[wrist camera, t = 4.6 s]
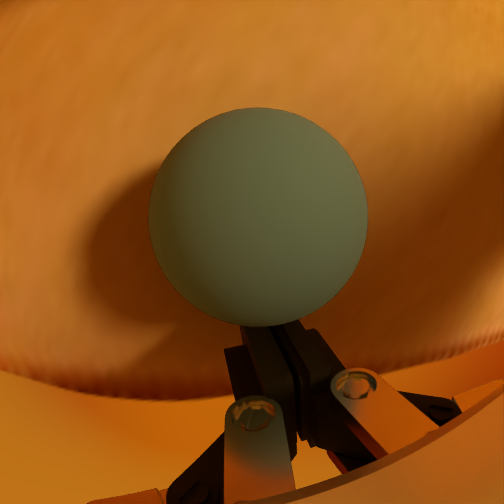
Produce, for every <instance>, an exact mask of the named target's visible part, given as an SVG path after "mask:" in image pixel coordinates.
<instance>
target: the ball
mask: <svg viewBox="0 0 504 504" xmlns="http://www.w3.org/2000/svg"><path fill="white" fill-rule="evenodd" d="M148 225H149V234H150V239H151V243H152V247H153V250H154V253H155V256H156V258H157V261H158V263H159V265H160V267H161V269H162V271H163V273H164V274H165V276H166V278H167V279H168V281H169V282H170V283H171V284H172V286H173V287H174V288H175V289H176V290H177V291H178V292H179V293H180V294H181V295H182V296H183V297H184V298H185V299H186V300H187V301H188V302H189V303H191V304H192V305H193V306H195V307H196V308H198V309H199V310H200V311H202V312H204V313H206V314H208V315H210V316H212V317H214V318H217V319H219V320H222V321H225V322H228V323H232V324H237V325H241V326H251V327H267V326H274V325H280V324H284V323H288V322H292V321H295V320H297V319H300V318H302V317H305V316H307V315H309V314H311V313H312V312H314V311H316V310H318V309H319V308H321V307H322V306H323V305H325V304H326V303H327V302H329V301H330V300H331V299H332V298H333V297H334V296H335V295H336V294H337V293H338V292H339V291H340V290H341V289H342V288H343V287H344V285H345V284H346V283H347V281H348V280H349V278H350V277H351V275H352V274H353V272H354V270H355V268H356V267H357V264H358V262H359V260H360V257H361V255H362V252H363V249H364V245H365V241H366V235H367V227H368V205H367V199H366V193H365V189H364V186H363V183H362V180H361V177H360V175H359V173H358V171H357V169H356V167H355V165H354V163H353V161H352V160H351V158H350V156H349V155H348V153H347V152H346V150H345V149H344V148H343V147H342V146H341V145H340V144H339V142H338V141H337V140H336V139H335V138H333V137H332V136H331V135H330V134H329V133H328V132H327V131H325V130H324V129H322V128H321V127H319V126H318V125H316V124H315V123H313V122H312V121H310V120H308V119H306V118H304V117H302V116H299V115H297V114H294V113H290V112H287V111H283V110H277V109H271V108H244V109H237V110H233V111H229V112H226V113H222V114H220V115H217V116H215V117H213V118H210V119H208V120H206V121H205V122H203V123H201V124H200V125H198V126H197V127H195V128H194V129H192V130H191V131H190V132H189V133H187V134H186V135H185V136H184V137H183V138H182V139H181V140H180V141H179V142H178V143H177V144H176V145H175V146H174V147H173V149H172V150H171V151H170V153H169V154H168V156H167V157H166V159H165V160H164V162H163V163H162V165H161V167H160V169H159V171H158V173H157V175H156V178H155V181H154V184H153V187H152V190H151V195H150V201H149V210H148Z"/></svg>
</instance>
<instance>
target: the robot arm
mask: <svg viewBox="0 0 504 504" xmlns="http://www.w3.org/2000/svg"><path fill="white" fill-rule="evenodd" d="M240 330H241V335H242V341H243V345H241V346H236V347H231V348H226V349H224V353H225V357H226V362H227V366H228V371H229V375H230V380H231V384H232V388H233V393H234V397H235V401H236V402H234V403H233V404H232V405H230V407H229V408H228V410H227V412H226V415H225V431H224V432H223V433H222V434H221V435H220V437H218V439H217V440H216V441H215V442H214V443H213V444H212V445H211V446H210V447H209V448H208V449H207V450H206V451H205V452H204V453H203V454H202V455H201V456H200V457H199V458H198V459H197V460H196V461H195V462H194V463H193V464H192V465H191V466H189V467H188V469H186V470H185V471H184V472H183V474H181V475H180V476H179V477H178V478H177V479H176V480H175V481H174V482H173V483H172V484H171V485H170V486H169V488H168V489H164V490H160V491H158V490H157V489H156V488H155V489H151V490H146V491H142V492H137V493H133V494H128V495H123V496H117V497H112V498H106V499H99V500H94V501H91V502H89V503H87V504H504V380H500V379H499V380H494V381H492V382H489V383H487V384H484V385H482V386H479V387H477V388H474V389H472V390H469V391H466V392H464V393H461V394H458V395H455V396H453V397H452V400H449V399H446V398H442V397H434V396H427V395H420V394H414V393H407V392H401V391H396V390H395V389H394V388H393V387H392V386H391V385H389V384H388V383H387V382H386V381H385V380H384V379H382V378H381V377H380V376H379V375H378V374H376V373H375V372H373V371H372V370H368V369H365V368H349V369H345V367H344V366H343V365H342V363H341V362H340V361H339V359H338V358H337V357H336V355H335V354H334V352H333V351H332V350H331V348H330V347H329V346H328V344H327V343H326V342H325V340H324V339H323V338H322V336H321V335H320V334H319V332H318V331H317V330H316V329H314V328H313V329H309V330H305V328H304V327H303V325H302V324H301V322H300V321H299V320H298V319H297V320H295V321H292V322H288V323H284V324H280V325H274V326H267V327H251V326H241V325H240ZM297 432H298V435H299V437H300V439H301V441H304V440H307V441H308V443H309V446H310V447H311V448H312V447H315V446H317V447H319V448H322V449H325V450H327V454H328V456H329V458H330V459H331V460H332V462H333V463H334V464H335V466H336V467H337V468H338V470H339V471H340V472H341V473H342V475H339V476H337V477H334V478H331V479H328V480H326V481H323V482H320V483H316V484H313V485H310V486H307V487H304V488H300V489H297V490H296V488H295V482H294V477H293V471H292V465H291V461H292V460H293V459H294V457H295V456H296V454H297V445H296V443H297Z"/></svg>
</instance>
